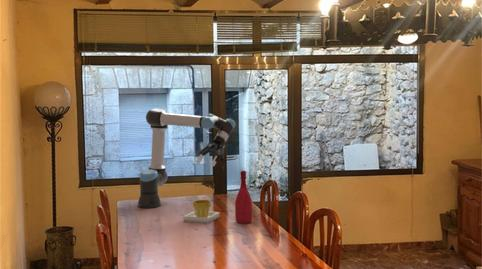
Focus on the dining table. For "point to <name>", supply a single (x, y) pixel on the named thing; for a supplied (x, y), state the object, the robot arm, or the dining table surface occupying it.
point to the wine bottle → (243, 202)
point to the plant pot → (202, 207)
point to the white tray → (192, 217)
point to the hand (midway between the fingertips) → (204, 164)
